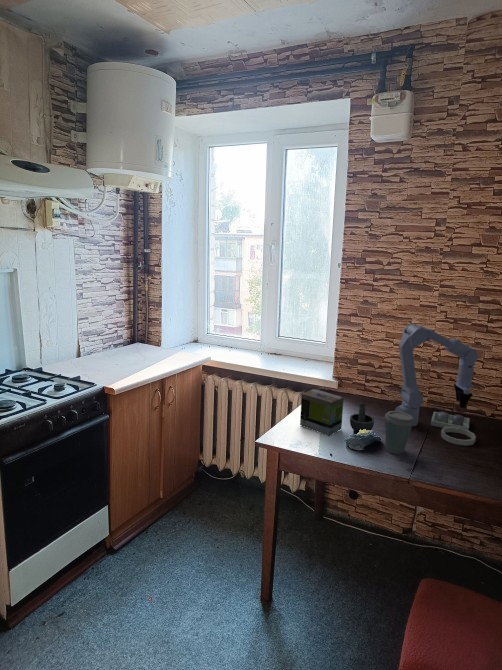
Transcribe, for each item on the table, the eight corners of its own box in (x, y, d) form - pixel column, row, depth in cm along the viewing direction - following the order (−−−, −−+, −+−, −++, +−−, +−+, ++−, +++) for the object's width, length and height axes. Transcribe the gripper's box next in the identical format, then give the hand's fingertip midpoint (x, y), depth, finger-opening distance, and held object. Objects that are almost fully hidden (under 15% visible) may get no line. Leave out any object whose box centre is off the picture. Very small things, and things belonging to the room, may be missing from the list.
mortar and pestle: (373, 440, 178) (375, 412, 175) (349, 437, 180) (351, 410, 177) (371, 428, 189) (374, 402, 186) (349, 426, 191) (351, 399, 188)
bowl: (456, 449, 172) (457, 442, 172) (434, 435, 184) (435, 428, 183) (481, 445, 176) (482, 438, 176) (458, 432, 188) (459, 425, 187)
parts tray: (430, 427, 192) (431, 420, 191) (433, 417, 202) (433, 411, 201) (467, 434, 185) (468, 428, 185) (468, 424, 195) (469, 418, 195)
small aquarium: (342, 429, 187) (344, 396, 184) (329, 437, 180) (331, 403, 176) (312, 419, 197) (314, 387, 194) (299, 425, 190) (300, 393, 186)
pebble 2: (457, 427, 189) (458, 419, 188) (449, 423, 193) (450, 415, 193) (465, 426, 191) (466, 418, 190) (457, 422, 195) (459, 414, 194)
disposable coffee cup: (386, 441, 177) (390, 406, 174) (414, 449, 171) (418, 413, 168) (377, 451, 169) (380, 414, 165) (405, 460, 163) (410, 422, 159)
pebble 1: (441, 424, 192) (443, 416, 191) (434, 420, 196) (436, 412, 195) (450, 423, 193) (451, 415, 192) (443, 419, 197) (444, 411, 196)
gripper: (479, 380, 182) (474, 411, 185) (471, 370, 196) (467, 399, 199) (460, 378, 184) (456, 409, 187) (454, 368, 198) (450, 397, 201)
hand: (460, 404), depth 193 cm, fingers open, 7 cm apart
